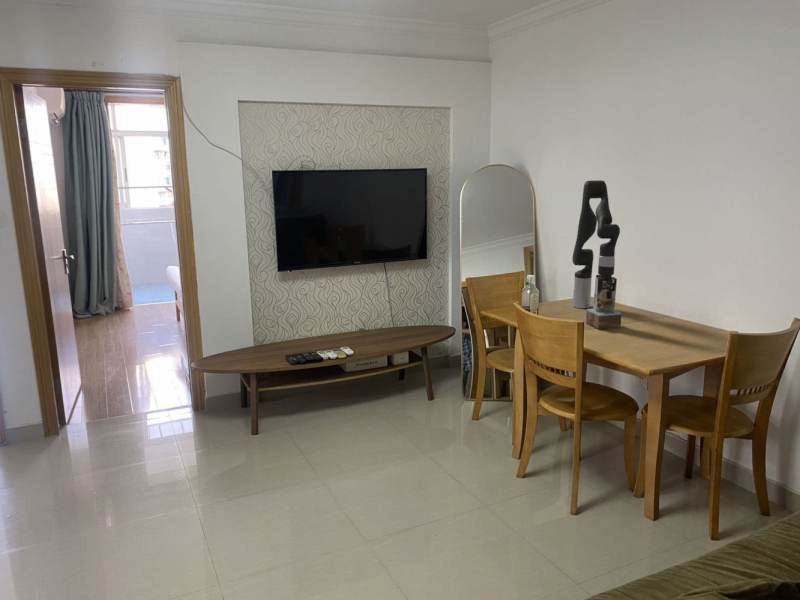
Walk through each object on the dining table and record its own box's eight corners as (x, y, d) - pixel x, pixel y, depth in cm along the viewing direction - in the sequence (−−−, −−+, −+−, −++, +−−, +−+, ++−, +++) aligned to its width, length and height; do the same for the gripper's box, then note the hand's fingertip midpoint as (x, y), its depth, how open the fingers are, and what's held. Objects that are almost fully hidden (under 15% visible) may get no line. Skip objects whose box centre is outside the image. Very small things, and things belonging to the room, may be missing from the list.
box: (586, 323, 305) (586, 311, 304) (607, 322, 308) (607, 309, 306) (598, 329, 294) (599, 316, 292) (620, 328, 296) (621, 314, 295)
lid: (586, 310, 304) (586, 307, 304) (608, 309, 306) (608, 306, 306) (599, 316, 292) (599, 313, 292) (621, 314, 295) (621, 311, 295)
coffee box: (596, 310, 297) (597, 278, 293) (593, 307, 303) (594, 276, 299) (615, 310, 296) (617, 278, 292) (611, 307, 302) (613, 276, 298)
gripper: (591, 263, 300) (590, 294, 304) (607, 267, 287) (605, 300, 290) (605, 262, 302) (603, 294, 305) (621, 266, 288) (619, 299, 292)
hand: (604, 297), depth 298 cm, fingers closed on coffee box, 7 cm apart
